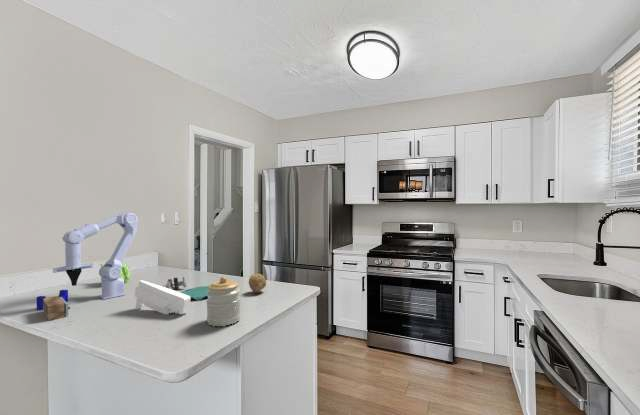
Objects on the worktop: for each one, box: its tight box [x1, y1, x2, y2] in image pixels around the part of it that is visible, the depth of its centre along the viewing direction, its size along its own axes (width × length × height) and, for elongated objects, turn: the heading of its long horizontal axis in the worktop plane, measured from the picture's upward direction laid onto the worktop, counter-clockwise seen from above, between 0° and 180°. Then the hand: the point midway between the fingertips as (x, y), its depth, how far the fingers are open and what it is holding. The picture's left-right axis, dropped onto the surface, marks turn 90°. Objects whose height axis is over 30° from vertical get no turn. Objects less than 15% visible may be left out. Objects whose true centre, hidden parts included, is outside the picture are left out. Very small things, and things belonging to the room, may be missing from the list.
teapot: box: [99, 263, 131, 284], centre depth 180 cm, size 16×14×13 cm
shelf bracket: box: [134, 280, 192, 315], centre depth 131 cm, size 6×27×14 cm, turn 71°
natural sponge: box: [248, 273, 267, 294], centre depth 157 cm, size 9×9×10 cm
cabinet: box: [42, 295, 66, 322], centre depth 129 cm, size 5×16×6 cm, turn 48°
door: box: [59, 297, 71, 316], centre depth 132 cm, size 2×16×5 cm, turn 48°
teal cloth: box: [179, 285, 209, 301], centre depth 159 cm, size 20×30×2 cm, turn 152°
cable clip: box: [35, 289, 69, 311], centre depth 142 cm, size 12×4×6 cm, turn 172°
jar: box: [205, 276, 242, 327], centre depth 119 cm, size 13×13×18 cm
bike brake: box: [162, 276, 188, 291], centre depth 166 cm, size 14×7×20 cm
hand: (74, 285), depth 141 cm, fingers closed
